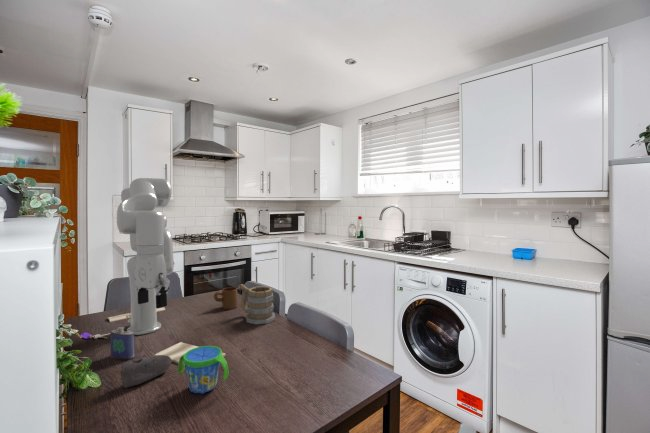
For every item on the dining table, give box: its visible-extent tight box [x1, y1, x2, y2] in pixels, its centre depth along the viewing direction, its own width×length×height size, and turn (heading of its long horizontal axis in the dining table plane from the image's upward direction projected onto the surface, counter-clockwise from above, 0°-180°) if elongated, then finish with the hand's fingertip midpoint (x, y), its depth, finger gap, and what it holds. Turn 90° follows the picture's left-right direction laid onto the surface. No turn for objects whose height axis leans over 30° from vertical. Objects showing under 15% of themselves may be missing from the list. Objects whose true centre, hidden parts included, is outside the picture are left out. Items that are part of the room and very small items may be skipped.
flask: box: [110, 326, 135, 361], centre depth 114 cm, size 9×3×11 cm, turn 74°
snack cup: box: [177, 345, 230, 395], centre depth 95 cm, size 16×10×10 cm
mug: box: [213, 286, 238, 310], centre depth 166 cm, size 12×8×9 cm, turn 132°
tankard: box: [237, 283, 276, 325], centre depth 152 cm, size 20×13×15 cm, turn 58°
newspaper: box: [106, 307, 166, 323], centre depth 157 cm, size 24×7×2 cm, turn 134°
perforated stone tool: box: [119, 354, 172, 388], centre depth 100 cm, size 15×5×7 cm, turn 139°
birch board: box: [154, 341, 226, 365], centre depth 115 cm, size 22×11×1 cm, turn 65°
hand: (152, 305), depth 102 cm, fingers open, 9 cm apart
